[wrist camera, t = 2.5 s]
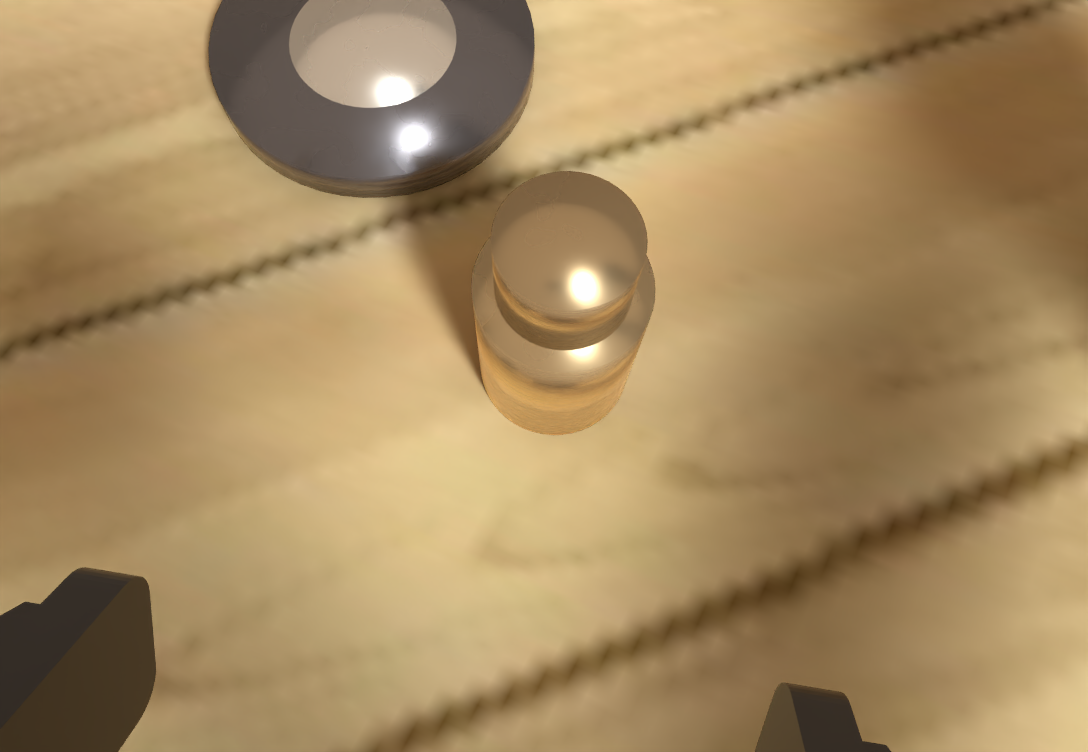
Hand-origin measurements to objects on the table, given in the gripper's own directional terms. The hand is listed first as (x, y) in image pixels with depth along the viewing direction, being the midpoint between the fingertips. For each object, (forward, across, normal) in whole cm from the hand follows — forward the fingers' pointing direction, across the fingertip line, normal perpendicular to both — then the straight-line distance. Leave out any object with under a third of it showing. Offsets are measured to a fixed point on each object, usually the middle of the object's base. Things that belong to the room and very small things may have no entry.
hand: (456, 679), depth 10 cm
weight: (+22, 0, -5) cm, 23 cm away
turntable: (+31, -10, +4) cm, 33 cm away
